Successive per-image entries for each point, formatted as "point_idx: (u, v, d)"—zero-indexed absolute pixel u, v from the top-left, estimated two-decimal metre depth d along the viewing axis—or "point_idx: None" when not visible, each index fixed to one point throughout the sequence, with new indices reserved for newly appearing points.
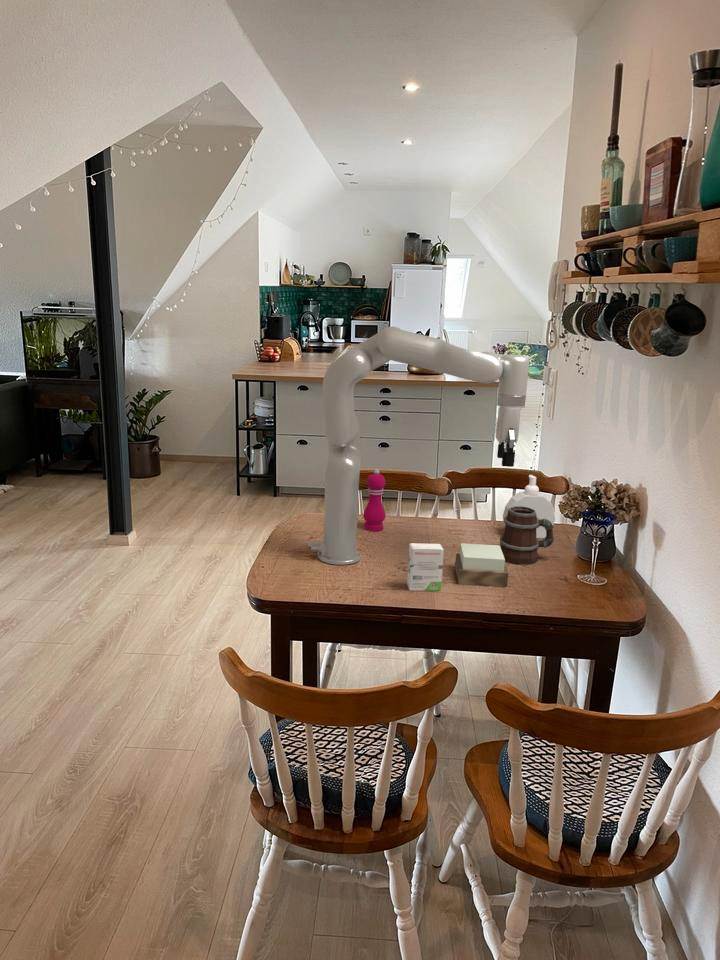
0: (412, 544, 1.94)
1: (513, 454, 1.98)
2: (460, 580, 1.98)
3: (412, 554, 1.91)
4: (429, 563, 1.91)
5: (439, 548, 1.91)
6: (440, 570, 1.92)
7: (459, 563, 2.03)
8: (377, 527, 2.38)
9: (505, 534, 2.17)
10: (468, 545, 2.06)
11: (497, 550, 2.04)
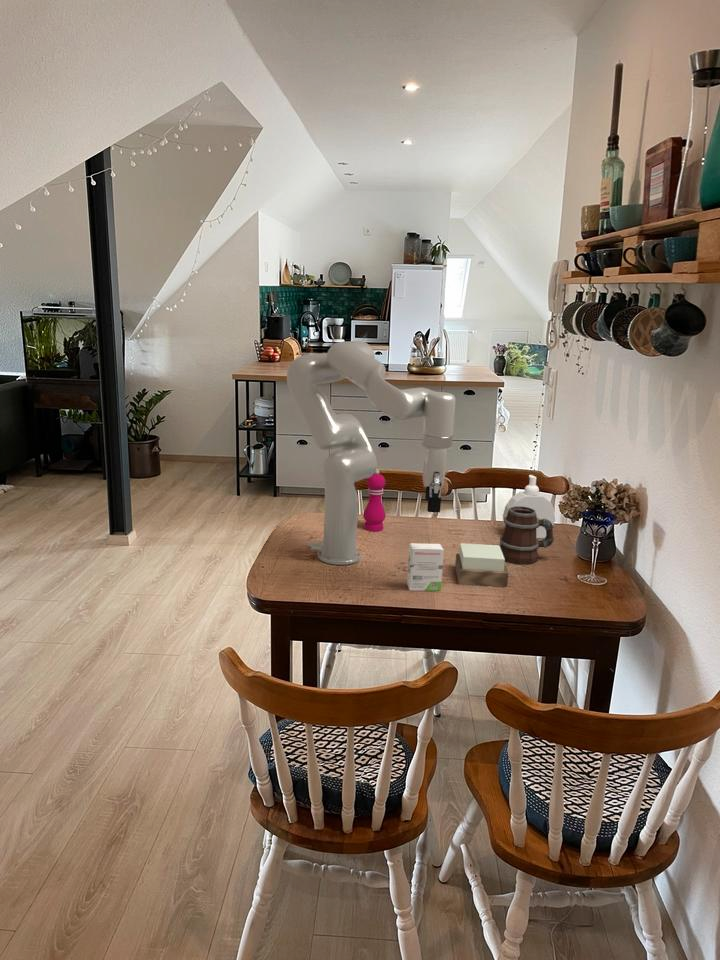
0: (412, 544, 1.94)
1: (439, 499, 1.84)
2: (460, 580, 1.98)
3: (412, 554, 1.91)
4: (429, 564, 1.91)
5: (439, 548, 1.91)
6: (440, 570, 1.92)
7: (459, 563, 2.02)
8: (377, 527, 2.38)
9: (505, 534, 2.17)
10: (468, 545, 2.07)
11: (496, 550, 2.04)
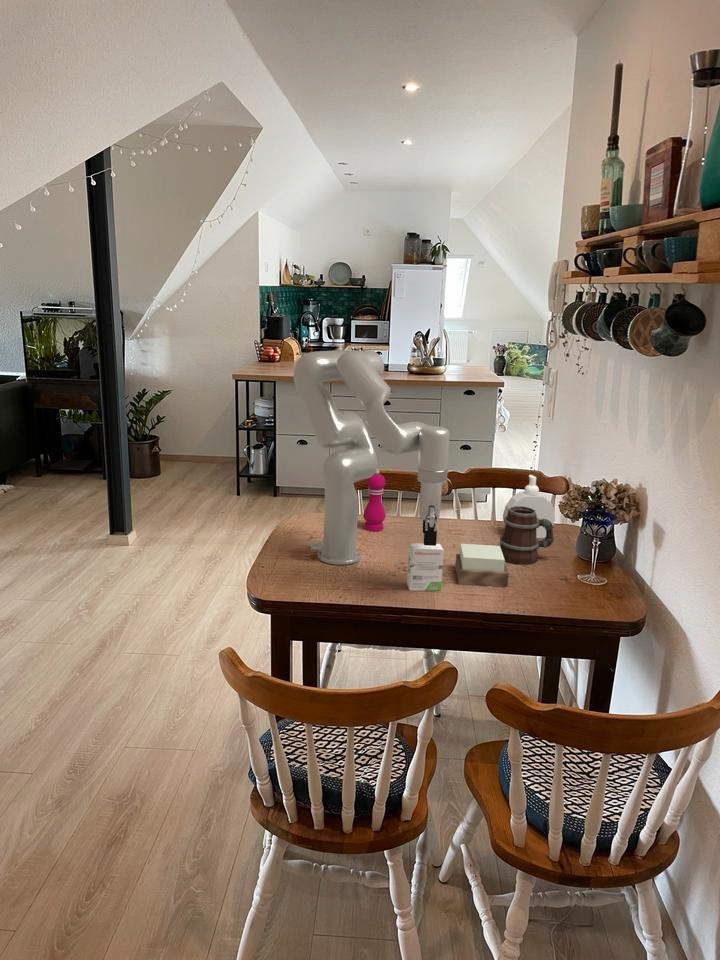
0: (412, 544, 1.94)
1: (435, 532, 1.86)
2: (460, 580, 1.98)
3: (412, 554, 1.91)
4: (429, 563, 1.91)
5: (439, 548, 1.91)
6: (440, 570, 1.92)
7: (459, 563, 2.02)
8: (377, 527, 2.38)
9: (505, 534, 2.17)
10: (468, 546, 2.07)
11: (497, 550, 2.04)
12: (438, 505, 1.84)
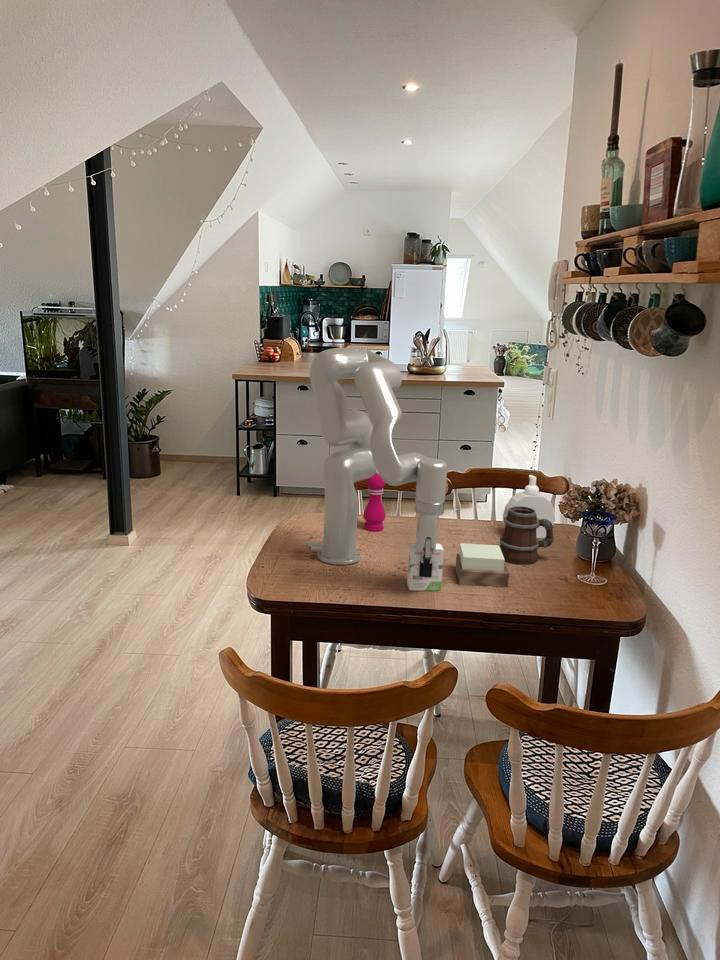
0: (412, 544, 1.94)
1: (430, 565, 1.90)
2: (461, 580, 1.98)
3: (412, 554, 1.91)
4: None
5: (439, 548, 1.91)
6: (440, 570, 1.92)
7: (460, 563, 2.02)
8: (377, 527, 2.38)
9: (505, 534, 2.17)
10: (468, 545, 2.07)
11: (496, 550, 2.04)
12: (435, 537, 1.87)
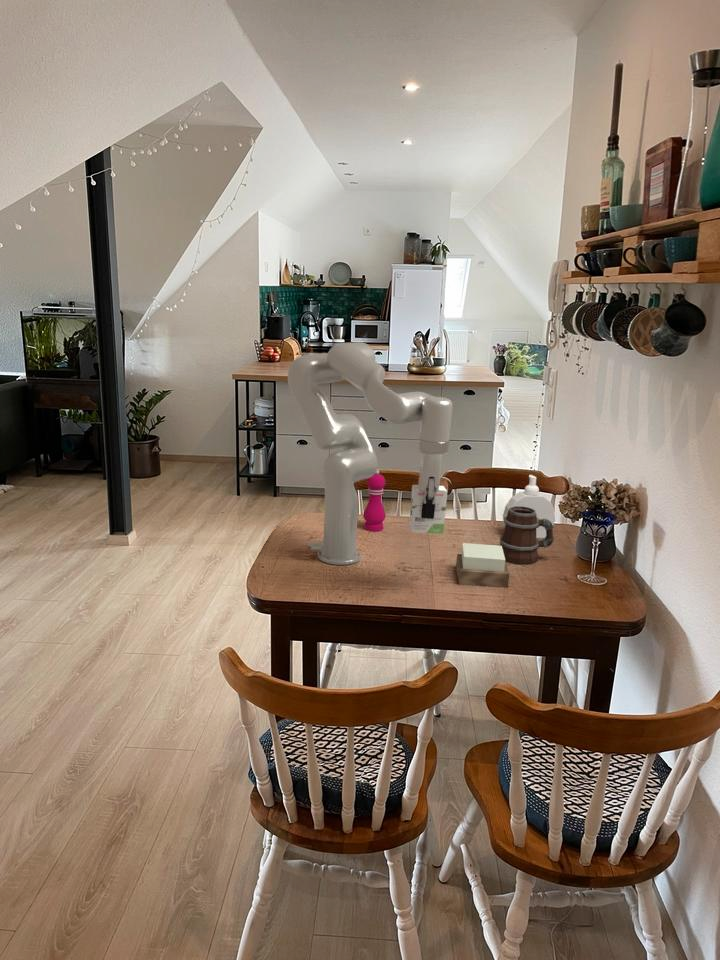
0: (415, 485, 1.90)
1: (433, 506, 1.87)
2: (461, 581, 1.98)
3: (415, 495, 1.87)
4: None
5: (443, 489, 1.88)
6: (443, 512, 1.88)
7: (460, 564, 2.02)
8: (377, 527, 2.38)
9: (505, 534, 2.17)
10: (470, 545, 2.07)
11: (498, 550, 2.04)
12: (438, 476, 1.83)
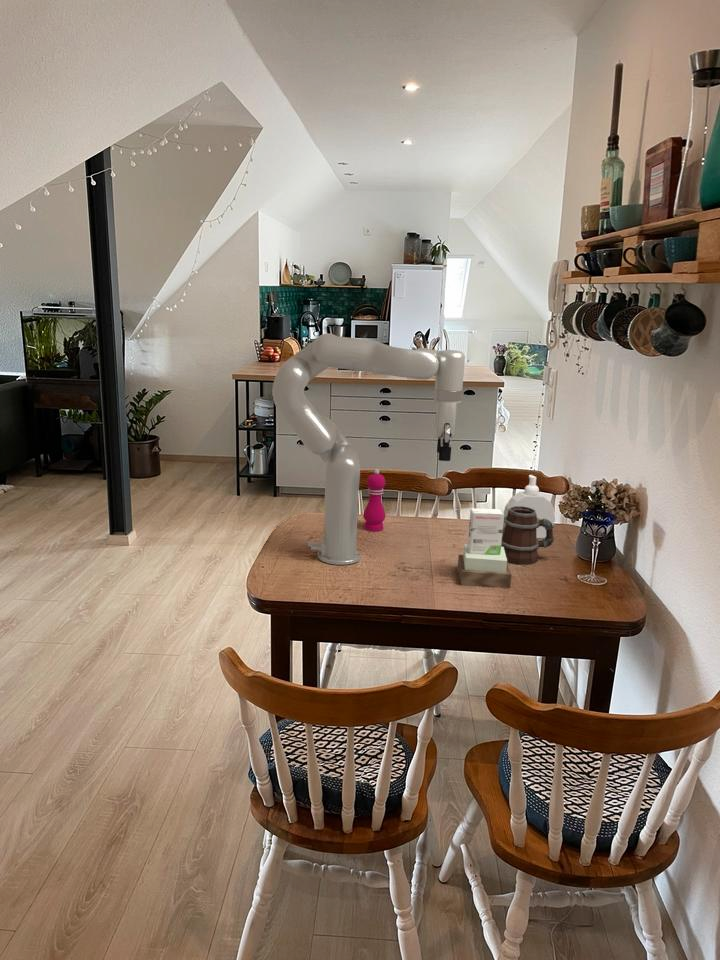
0: (473, 509, 2.01)
1: (449, 449, 2.01)
2: (463, 581, 1.98)
3: (473, 518, 1.98)
4: (489, 528, 1.98)
5: (499, 512, 1.98)
6: (500, 534, 1.99)
7: (462, 564, 2.02)
8: (377, 527, 2.38)
9: (505, 534, 2.17)
10: None
11: None
12: (453, 423, 1.99)
